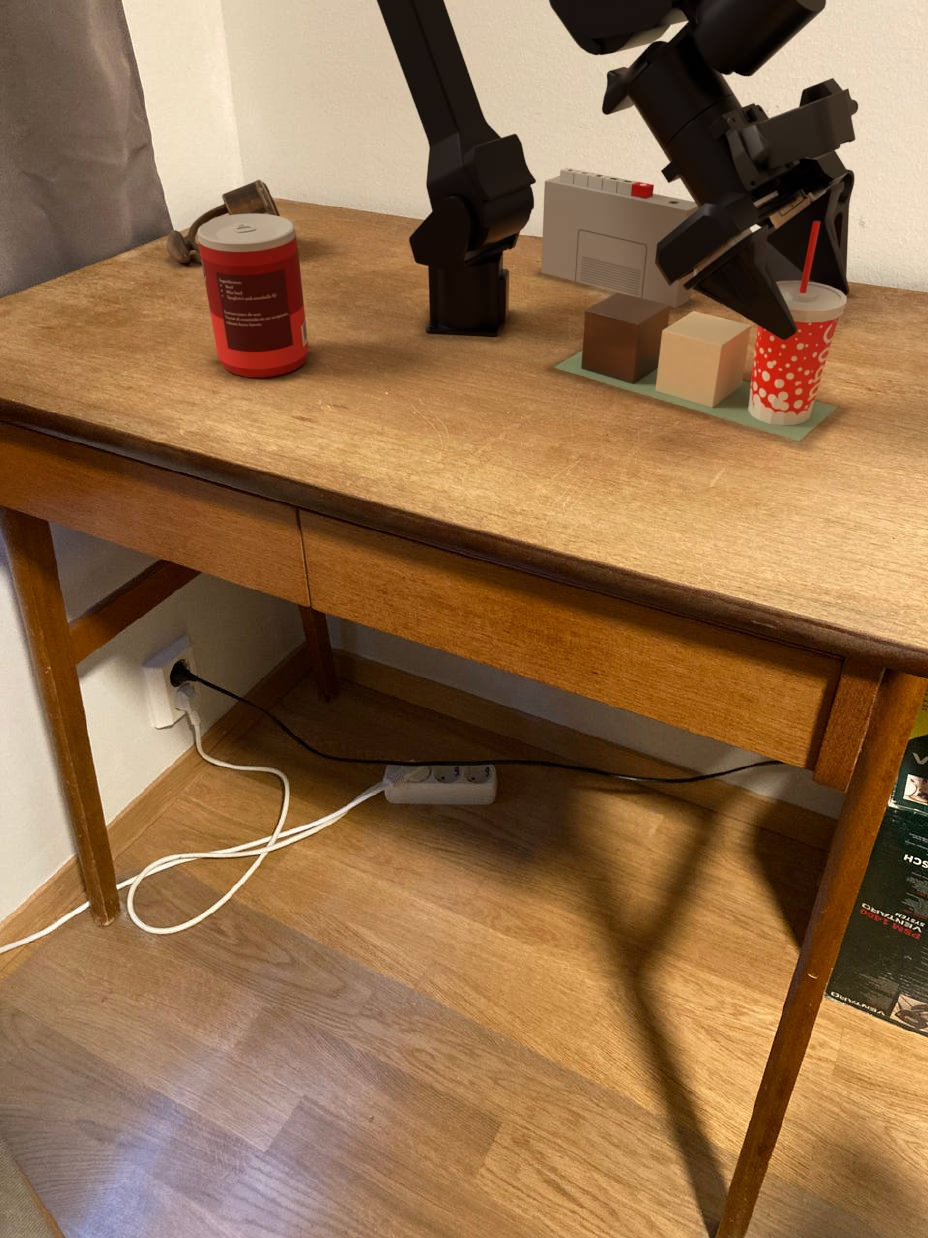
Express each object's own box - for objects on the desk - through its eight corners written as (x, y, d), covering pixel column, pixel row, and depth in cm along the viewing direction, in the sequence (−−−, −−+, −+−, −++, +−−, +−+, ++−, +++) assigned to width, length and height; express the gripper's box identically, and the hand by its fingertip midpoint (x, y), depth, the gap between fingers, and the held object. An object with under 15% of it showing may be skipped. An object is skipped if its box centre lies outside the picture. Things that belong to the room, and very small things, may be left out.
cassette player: (689, 302, 95) (704, 191, 89) (675, 310, 93) (689, 198, 87) (556, 267, 103) (561, 163, 97) (541, 274, 101) (545, 169, 95)
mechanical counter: (280, 216, 100) (294, 168, 106) (151, 204, 99) (173, 156, 106) (284, 281, 105) (297, 231, 112) (162, 270, 105) (182, 220, 111)
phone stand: (793, 319, 91) (820, 180, 84) (737, 302, 95) (759, 167, 87) (845, 295, 96) (875, 161, 89) (791, 279, 100) (815, 150, 92)
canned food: (273, 334, 90) (256, 206, 83) (328, 360, 85) (316, 227, 78) (200, 359, 86) (176, 227, 79) (254, 387, 81) (234, 249, 74)
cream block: (655, 391, 79) (662, 329, 76) (685, 369, 82) (693, 310, 79) (712, 408, 77) (722, 345, 74) (741, 385, 80) (752, 325, 77)
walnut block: (580, 368, 83) (584, 309, 80) (612, 349, 86) (617, 291, 83) (633, 384, 80) (639, 323, 77) (664, 363, 83) (671, 304, 80)
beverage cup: (785, 438, 73) (826, 241, 64) (720, 408, 77) (751, 219, 68) (837, 414, 76) (883, 223, 67) (772, 387, 79) (808, 203, 71)
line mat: (553, 370, 83) (553, 366, 83) (598, 343, 87) (599, 340, 87) (798, 444, 73) (799, 440, 72) (836, 410, 77) (837, 406, 77)
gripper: (724, 58, 57) (868, 290, 59) (849, 20, 69) (966, 215, 70) (597, 181, 66) (724, 381, 67) (727, 129, 77) (833, 301, 79)
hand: (818, 315), depth 71 cm, fingers open, 9 cm apart
